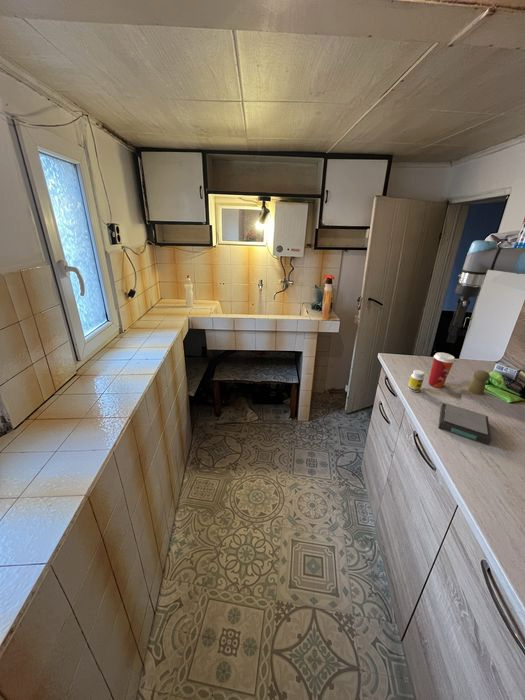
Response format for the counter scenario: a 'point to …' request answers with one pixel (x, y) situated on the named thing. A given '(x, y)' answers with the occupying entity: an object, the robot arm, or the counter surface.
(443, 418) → the kitchen scale
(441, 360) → the paper cup
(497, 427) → the counter surface
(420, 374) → the supplement bottle
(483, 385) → the cork
